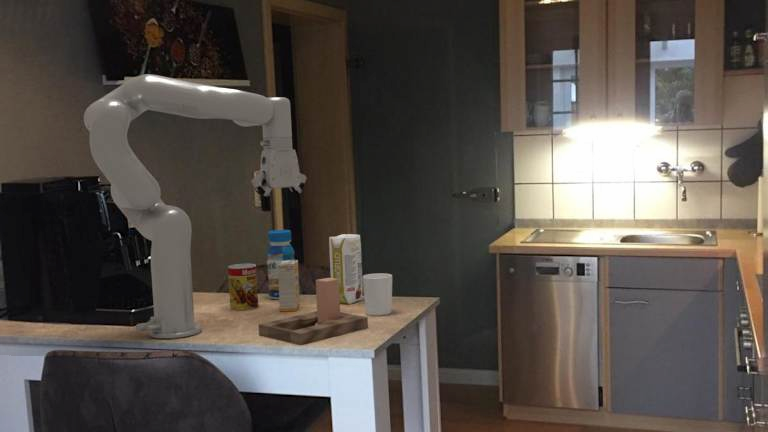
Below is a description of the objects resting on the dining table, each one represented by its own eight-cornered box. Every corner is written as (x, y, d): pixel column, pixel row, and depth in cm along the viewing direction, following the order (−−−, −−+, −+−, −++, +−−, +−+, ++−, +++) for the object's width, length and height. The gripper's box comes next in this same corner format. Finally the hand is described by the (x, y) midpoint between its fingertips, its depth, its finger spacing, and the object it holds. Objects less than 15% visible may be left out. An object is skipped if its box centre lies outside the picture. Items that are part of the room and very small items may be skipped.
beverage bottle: (299, 298, 242) (295, 231, 240) (270, 301, 240) (267, 233, 238) (294, 293, 250) (291, 228, 248) (267, 296, 248) (263, 230, 246)
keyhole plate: (300, 344, 186) (300, 333, 186) (259, 335, 197) (258, 324, 197) (367, 327, 201) (367, 317, 200) (325, 319, 212) (324, 309, 212)
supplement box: (297, 311, 224) (294, 263, 222) (279, 311, 224) (277, 264, 223) (300, 305, 232) (298, 259, 231) (283, 305, 232) (281, 260, 231)
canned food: (253, 310, 227) (250, 267, 226) (226, 310, 228) (223, 268, 227) (262, 304, 235) (259, 263, 234) (236, 305, 236) (233, 263, 235)
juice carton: (366, 299, 237) (363, 234, 235) (350, 305, 229) (347, 237, 227) (344, 297, 240) (341, 233, 239) (328, 303, 233) (325, 237, 231)
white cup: (360, 316, 214) (358, 278, 213) (368, 309, 222) (366, 273, 221) (389, 316, 212) (388, 278, 211) (396, 310, 220) (395, 273, 219)
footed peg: (328, 332, 197) (325, 283, 196) (309, 328, 202) (307, 280, 201) (349, 326, 202) (347, 278, 201) (330, 323, 207) (328, 276, 206)
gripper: (259, 145, 207) (263, 213, 208) (312, 143, 219) (315, 207, 220) (242, 146, 212) (245, 212, 213) (294, 144, 224) (297, 206, 226)
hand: (281, 209), depth 217 cm, fingers open, 9 cm apart
